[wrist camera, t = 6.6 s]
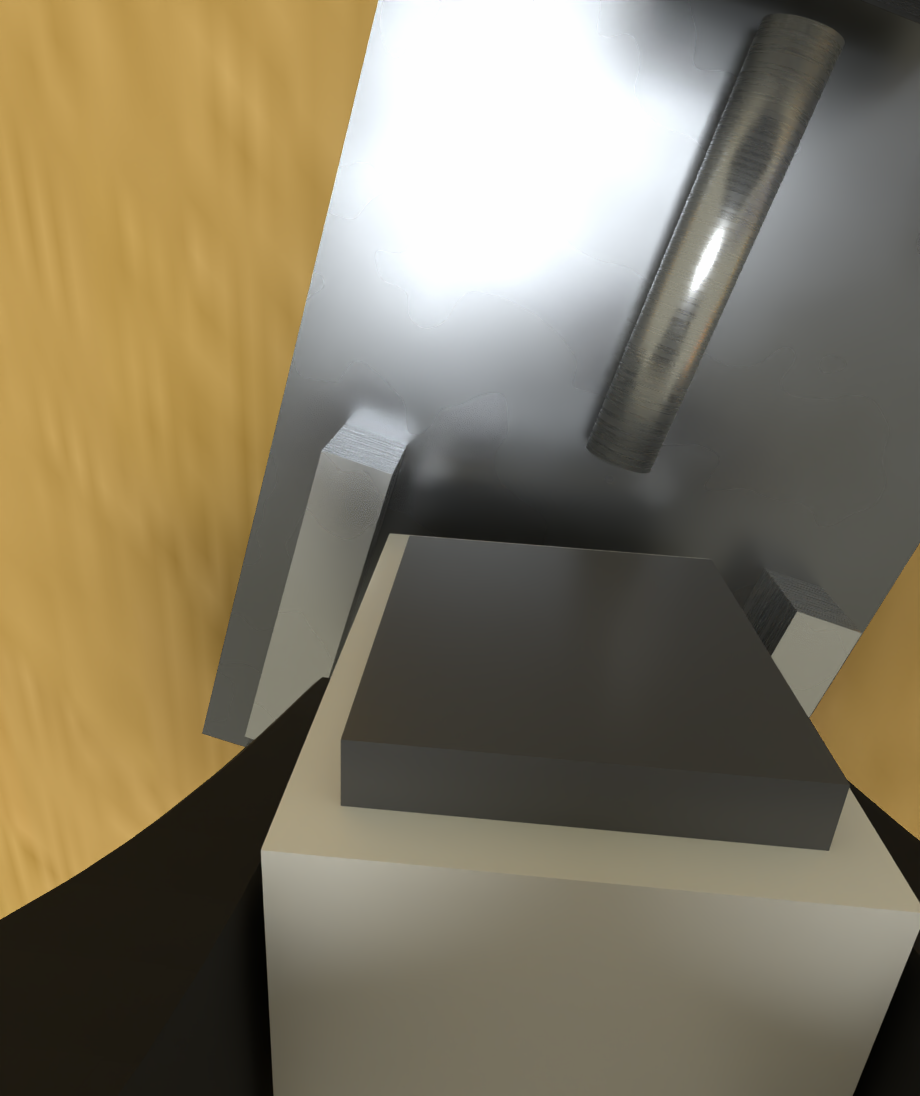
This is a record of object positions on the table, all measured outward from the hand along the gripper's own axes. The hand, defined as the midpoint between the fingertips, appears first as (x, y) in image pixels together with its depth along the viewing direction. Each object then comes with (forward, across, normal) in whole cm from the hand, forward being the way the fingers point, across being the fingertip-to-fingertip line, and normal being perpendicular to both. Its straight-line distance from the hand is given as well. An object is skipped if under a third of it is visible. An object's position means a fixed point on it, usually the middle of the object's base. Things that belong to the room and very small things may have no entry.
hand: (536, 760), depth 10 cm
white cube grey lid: (+2, 0, 0) cm, 2 cm away
